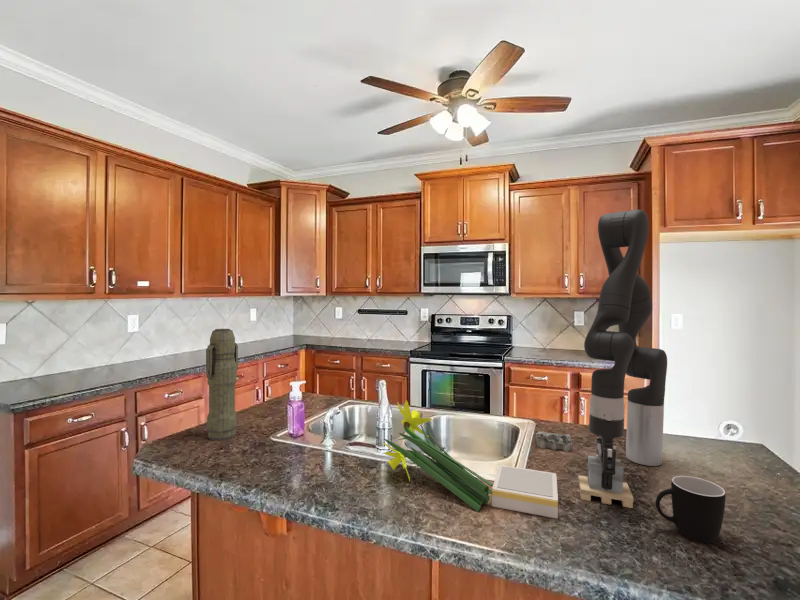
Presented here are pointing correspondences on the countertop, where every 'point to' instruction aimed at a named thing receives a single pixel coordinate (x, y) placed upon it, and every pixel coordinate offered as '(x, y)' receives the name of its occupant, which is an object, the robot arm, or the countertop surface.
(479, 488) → the daffodil flowers
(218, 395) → the thermos
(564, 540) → the countertop surface
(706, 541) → the mug
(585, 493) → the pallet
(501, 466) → the dock
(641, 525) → the countertop surface
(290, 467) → the countertop surface
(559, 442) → the egg carton
